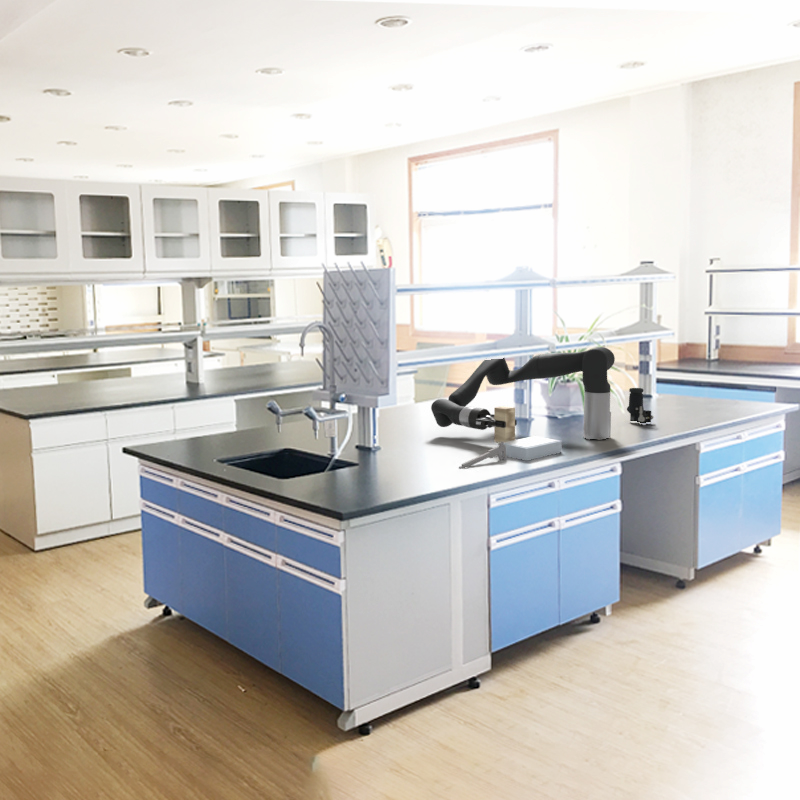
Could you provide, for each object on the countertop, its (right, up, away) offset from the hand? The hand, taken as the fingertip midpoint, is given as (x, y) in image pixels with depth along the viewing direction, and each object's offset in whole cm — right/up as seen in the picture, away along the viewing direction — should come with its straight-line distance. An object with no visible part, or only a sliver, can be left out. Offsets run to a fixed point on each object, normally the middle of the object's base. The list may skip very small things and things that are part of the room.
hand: (510, 423), depth 290 cm
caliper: (-11, -13, -19) cm, 26 cm away
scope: (+57, -1, +49) cm, 76 cm away
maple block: (-2, -6, +3) cm, 7 cm away
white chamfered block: (+6, -10, -5) cm, 13 cm away
